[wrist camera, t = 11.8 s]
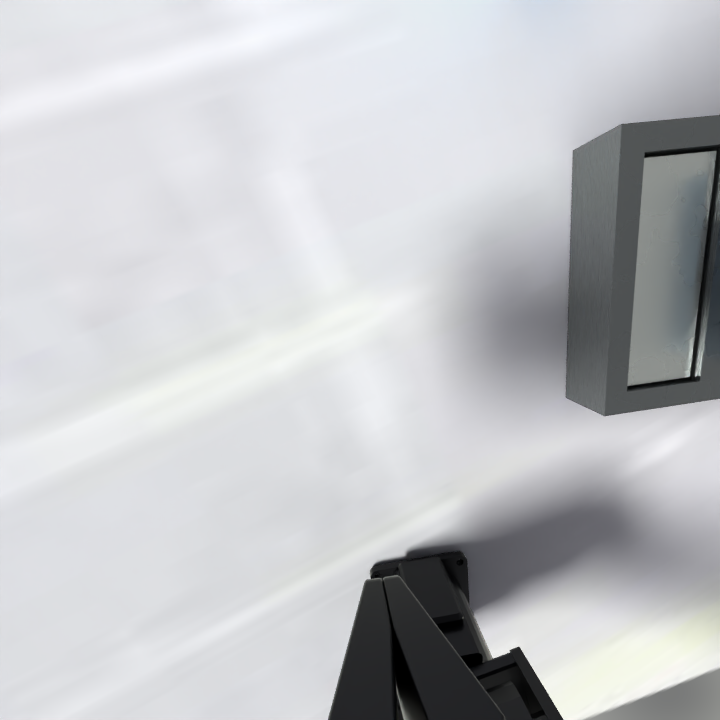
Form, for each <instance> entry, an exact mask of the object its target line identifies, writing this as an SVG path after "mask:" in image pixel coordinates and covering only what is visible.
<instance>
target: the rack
mask: <svg viewBox="0 0 720 720" xmlns="http://www.w3.org/2000/svg"><path fill="white" fill-rule="evenodd" d="M566 398H567V399H570V400H572V401H574V402H576V403H578V404H580V405H582V406H584V407H586V408H588V409H591V410H593V411H595V412H597V413H599V414H601V415H603V416H609V415H615V414H622V413H628V412H635V411H641V410H648V409H655V408H661V407H668V406H674V405H681V404H687V403H694V402H701V401H707V400H714V399H720V115H715V116H705V117H694V118H683V119H672V120H662V121H651V122H640V123H629V124H621V125H619V126H617V127H616V128H614V129H612V130H610V131H608V132H606V133H605V134H603V135H601V136H599V137H597V138H595V139H594V140H592V141H590V142H588V143H586V144H584V145H583V146H581V147H579V148H577V149H575V150H573V172H572V206H571V239H570V273H569V307H568V341H567V375H566Z"/></svg>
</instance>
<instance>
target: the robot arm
mask: <svg viewBox="0 0 720 720" xmlns="http://www.w3.org/2000/svg"><path fill="white" fill-rule="evenodd" d="M459 559H460V560H459ZM457 560H458V561H457ZM376 574H379V575H376ZM370 577H371V579H368V580H366V581H365V583H364V586H363V590H362V594H361V598H360V601H359V605H358V609H357V613H356V616H355V620H354V624H353V628H352V631H351V635H350V639H349V643H348V646H347V650H346V654H345V658H344V661H343V665H342V669H341V673H340V676H339V680H338V684H337V688H336V691H335V695H334V699H333V703H332V706H331V710H330V714H329V718H328V720H563V718H562V717H561V715H560V713H559V712H558V710H557V708H556V707H555V705H554V703H553V702H552V700H551V698H550V697H549V695H548V693H547V692H546V690H545V688H544V687H543V685H542V683H541V682H540V680H539V678H538V677H537V675H536V674H535V672H534V670H533V669H532V667H531V665H530V664H529V662H528V660H527V659H526V657H525V655H524V654H523V652H522V650H521V649H520V647H517V648H514V649H511V650H510V653H507V654H505V655H502V656H499V657H497V658H494V659H493V658H492V656H491V654H490V651H489V649H488V647H487V645H486V642H485V640H484V638H483V635H482V633H481V631H480V629H479V626H478V624H477V622H476V619H475V617H474V615H473V613H472V610H471V608H470V606H469V589H468V568H467V559H466V557H465V555H464V553H463V552H460V551H457V552H451V553H445V554H440V555H434V556H428V557H423V558H417V559H411V560H405V561H400V562H394V563H388V564H383V565H377V566H374V567H373V568H371V570H370Z"/></svg>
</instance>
